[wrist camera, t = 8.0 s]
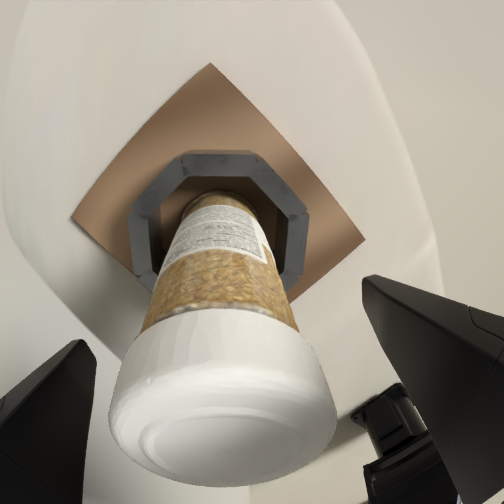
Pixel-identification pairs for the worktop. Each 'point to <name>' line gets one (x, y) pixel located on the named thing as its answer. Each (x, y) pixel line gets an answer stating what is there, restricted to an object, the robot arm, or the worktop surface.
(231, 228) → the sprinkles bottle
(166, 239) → the socket board
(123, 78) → the worktop surface
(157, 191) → the socket collar
